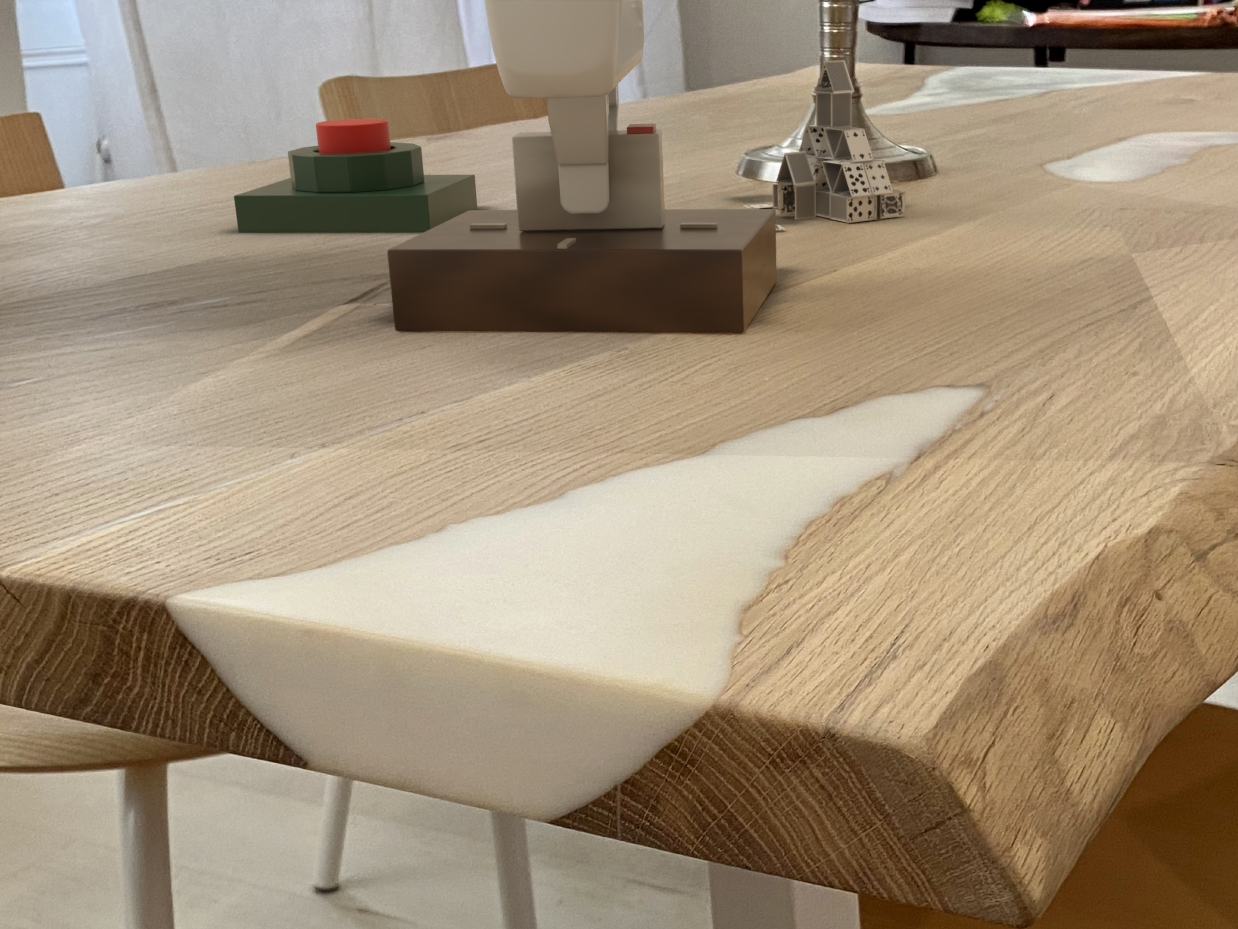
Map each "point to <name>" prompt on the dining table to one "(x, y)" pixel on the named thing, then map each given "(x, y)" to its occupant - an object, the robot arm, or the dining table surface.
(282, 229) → the button block
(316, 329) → the dining table surface
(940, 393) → the dining table surface
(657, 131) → the beige block
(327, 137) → the button
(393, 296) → the brown slotted block
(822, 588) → the dining table surface
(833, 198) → the house of cards
